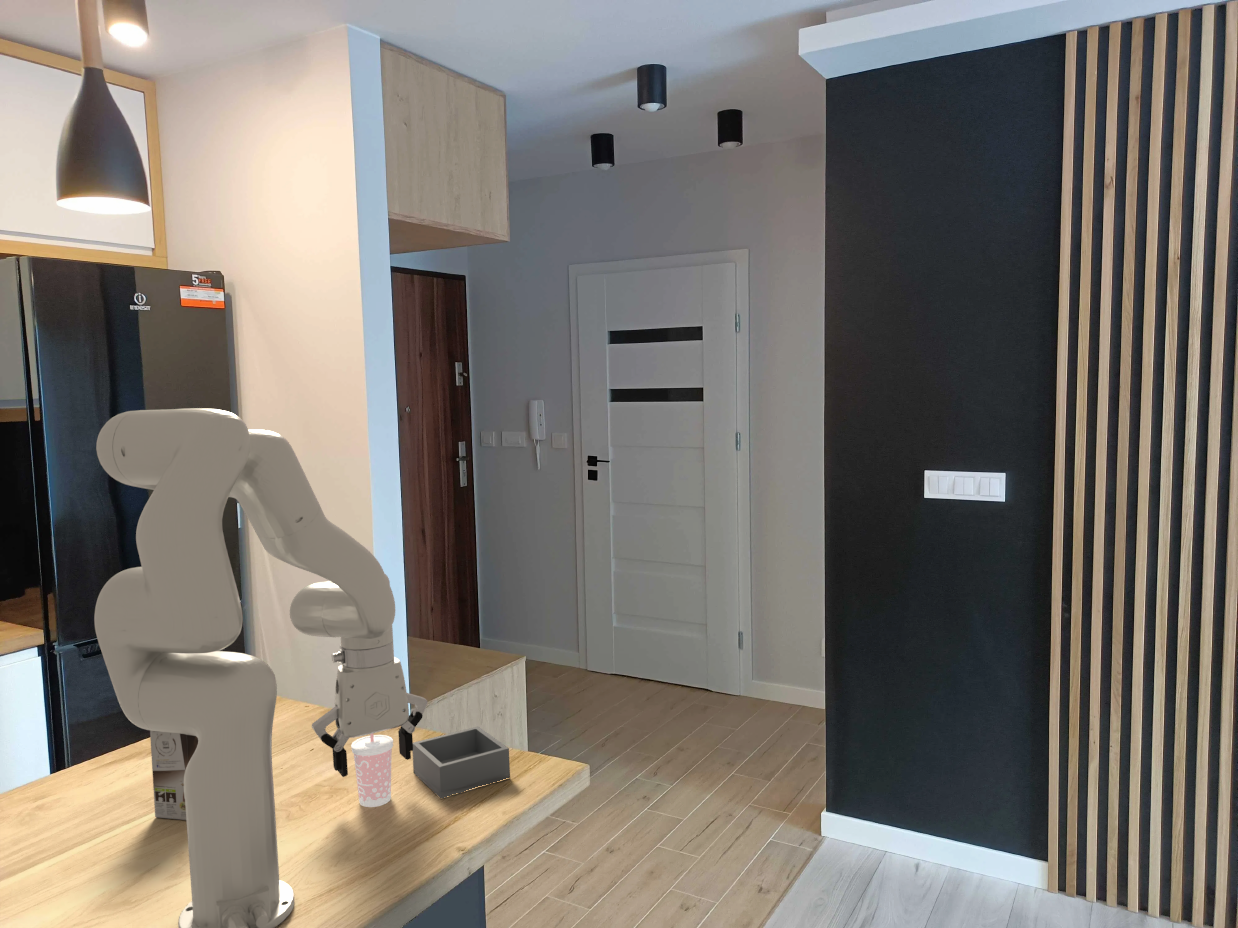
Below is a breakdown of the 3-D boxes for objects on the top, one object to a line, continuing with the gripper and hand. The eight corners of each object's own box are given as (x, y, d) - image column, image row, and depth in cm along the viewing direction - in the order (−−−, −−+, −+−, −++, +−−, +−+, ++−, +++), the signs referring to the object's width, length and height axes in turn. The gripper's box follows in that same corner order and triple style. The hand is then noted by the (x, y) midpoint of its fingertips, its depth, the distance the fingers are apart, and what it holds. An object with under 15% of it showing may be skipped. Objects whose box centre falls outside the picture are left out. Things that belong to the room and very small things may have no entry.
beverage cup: (348, 798, 134) (343, 709, 133) (386, 787, 138) (382, 699, 137) (363, 813, 130) (358, 720, 128) (402, 800, 133) (398, 710, 132)
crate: (510, 778, 140) (508, 748, 139) (440, 798, 133) (439, 766, 133) (479, 754, 150) (478, 726, 149) (413, 772, 143) (412, 742, 143)
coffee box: (192, 821, 129) (184, 713, 127) (153, 818, 130) (145, 711, 129) (231, 793, 138) (225, 692, 136) (195, 790, 139) (188, 690, 138)
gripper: (315, 673, 124) (323, 789, 126) (432, 649, 134) (437, 758, 135) (302, 659, 130) (309, 771, 132) (414, 638, 140) (420, 742, 142)
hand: (374, 764), depth 134 cm, fingers open, 9 cm apart
